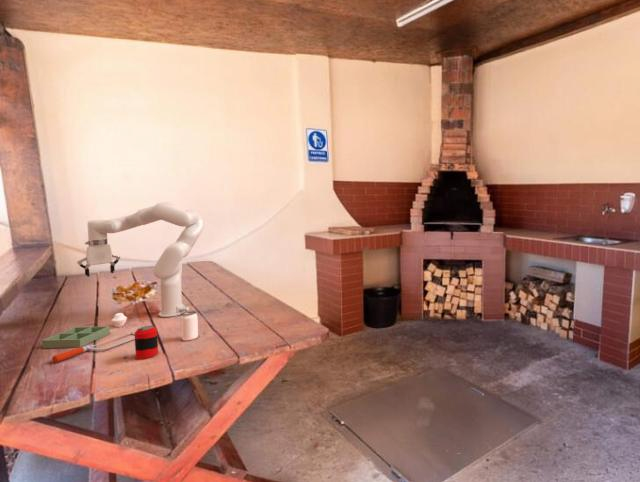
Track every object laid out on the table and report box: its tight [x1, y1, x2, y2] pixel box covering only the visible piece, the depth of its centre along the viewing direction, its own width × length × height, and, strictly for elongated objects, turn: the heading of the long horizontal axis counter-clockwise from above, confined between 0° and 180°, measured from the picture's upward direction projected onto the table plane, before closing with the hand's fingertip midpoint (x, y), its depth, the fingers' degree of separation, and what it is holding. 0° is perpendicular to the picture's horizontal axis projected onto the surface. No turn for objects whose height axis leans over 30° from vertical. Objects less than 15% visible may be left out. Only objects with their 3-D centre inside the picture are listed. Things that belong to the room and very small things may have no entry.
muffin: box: [110, 312, 128, 328], centre depth 201 cm, size 6×6×7 cm
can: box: [180, 310, 199, 342], centre depth 184 cm, size 6×6×12 cm
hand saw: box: [51, 331, 136, 364], centre depth 175 cm, size 33×3×10 cm
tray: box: [41, 325, 111, 349], centre depth 183 cm, size 16×16×4 cm
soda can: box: [134, 325, 159, 360], centre depth 166 cm, size 8×8×12 cm
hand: (100, 274), depth 209 cm, fingers open, 9 cm apart
